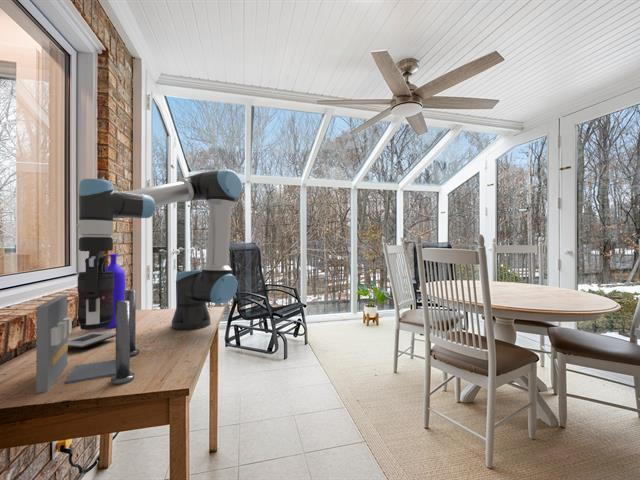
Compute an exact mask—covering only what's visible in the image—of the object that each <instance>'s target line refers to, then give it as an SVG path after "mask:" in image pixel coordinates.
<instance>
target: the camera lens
mask: <svg viewBox="0 0 640 480" xmlns="http://www.w3.org/2000/svg"><path fill="white" fill-rule="evenodd" d="M98 274H99V297H98V298H100V323H99V324H90V325H86V300H82V297H84V295H85V271H79V272H78V276H77V294H78V296H77V297H78V298H77V315H76V316H77V321H78V324H79V325H80V330H83V331H90V330H99V329H105V328H104V327H107V326H109V325H111V319H112V318H113V310H114V305H113V291H114V272H113V271H105V272H103V273H98Z"/></svg>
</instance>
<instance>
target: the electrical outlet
mask: <svg viewBox="0 0 640 480" xmlns="http://www.w3.org/2000/svg"><path fill="white" fill-rule="evenodd" d="M112 338H116V332H99V331H92V332H89V333H86V334H82V335H79V336H77V337H73V338H70V339H67V343H68V348H71V349H82V350H83V349H85V348H87V347H90V346H93V345H95V344H98V343H102V342H104V341H107V340H109V339H112Z"/></svg>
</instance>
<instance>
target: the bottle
mask: <svg viewBox="0 0 640 480" xmlns="http://www.w3.org/2000/svg"><path fill="white" fill-rule="evenodd" d="M109 256H110V262H109V263H110V264H109V265H108V266H107V267H106V271H113V272H114V291H113V305H114V310H113V318H112V319H111V325H109V326H107V327H104V328H103V329H116V302H117V301H123V300H124V290H126V276H125V275H126V274H125V271H124V269H123V268H121V267H122V266H121V267H120V265H119V264H118V262H117V256H119V253H110V254H109Z"/></svg>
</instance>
